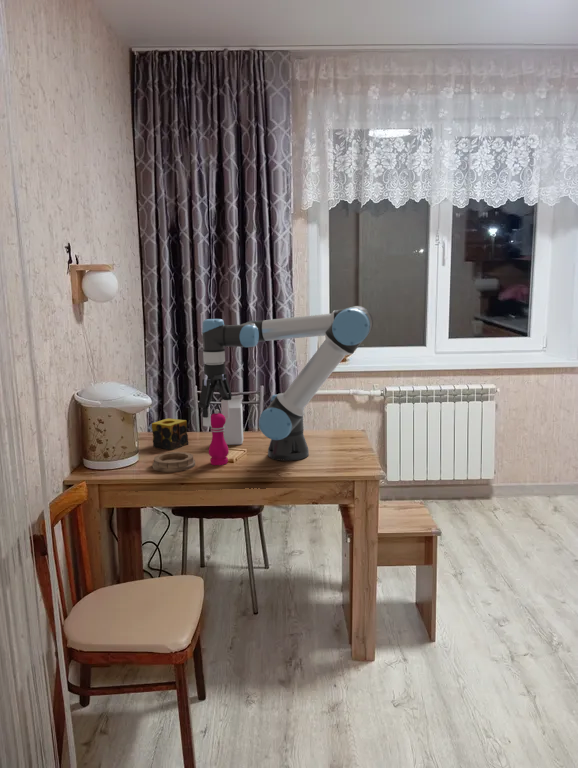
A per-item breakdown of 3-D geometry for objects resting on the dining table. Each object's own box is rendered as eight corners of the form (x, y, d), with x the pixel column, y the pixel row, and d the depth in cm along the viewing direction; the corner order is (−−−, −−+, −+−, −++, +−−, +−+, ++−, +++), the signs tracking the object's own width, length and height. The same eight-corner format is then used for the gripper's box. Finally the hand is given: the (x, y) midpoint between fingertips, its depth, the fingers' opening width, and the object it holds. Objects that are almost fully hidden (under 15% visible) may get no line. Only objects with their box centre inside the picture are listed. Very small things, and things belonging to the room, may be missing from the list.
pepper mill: (225, 466, 242) (223, 411, 238) (206, 465, 243) (203, 411, 240) (231, 460, 249) (229, 407, 245) (212, 459, 250) (210, 406, 247)
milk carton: (242, 444, 270) (240, 397, 267) (224, 445, 270) (222, 398, 267) (243, 440, 277) (241, 394, 274) (226, 440, 277) (224, 394, 274)
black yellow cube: (189, 444, 273) (187, 420, 271) (171, 450, 264) (170, 425, 263) (169, 441, 278) (168, 417, 276) (152, 447, 270) (151, 422, 268)
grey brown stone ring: (202, 461, 248) (202, 453, 248) (180, 473, 235) (180, 465, 234) (167, 458, 254) (167, 449, 253) (144, 469, 240) (143, 461, 240)
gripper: (221, 357, 252) (223, 413, 256) (186, 367, 230) (189, 429, 234) (239, 358, 250) (241, 415, 253) (206, 369, 227) (208, 430, 231)
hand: (216, 421), depth 244 cm, fingers open, 13 cm apart
